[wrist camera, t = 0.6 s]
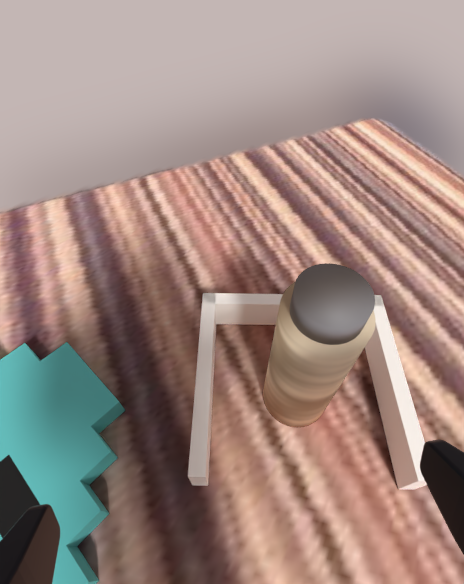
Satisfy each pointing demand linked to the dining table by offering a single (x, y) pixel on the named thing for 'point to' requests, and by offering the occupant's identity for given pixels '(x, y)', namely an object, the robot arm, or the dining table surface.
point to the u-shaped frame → (382, 363)
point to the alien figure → (54, 448)
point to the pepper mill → (316, 341)
